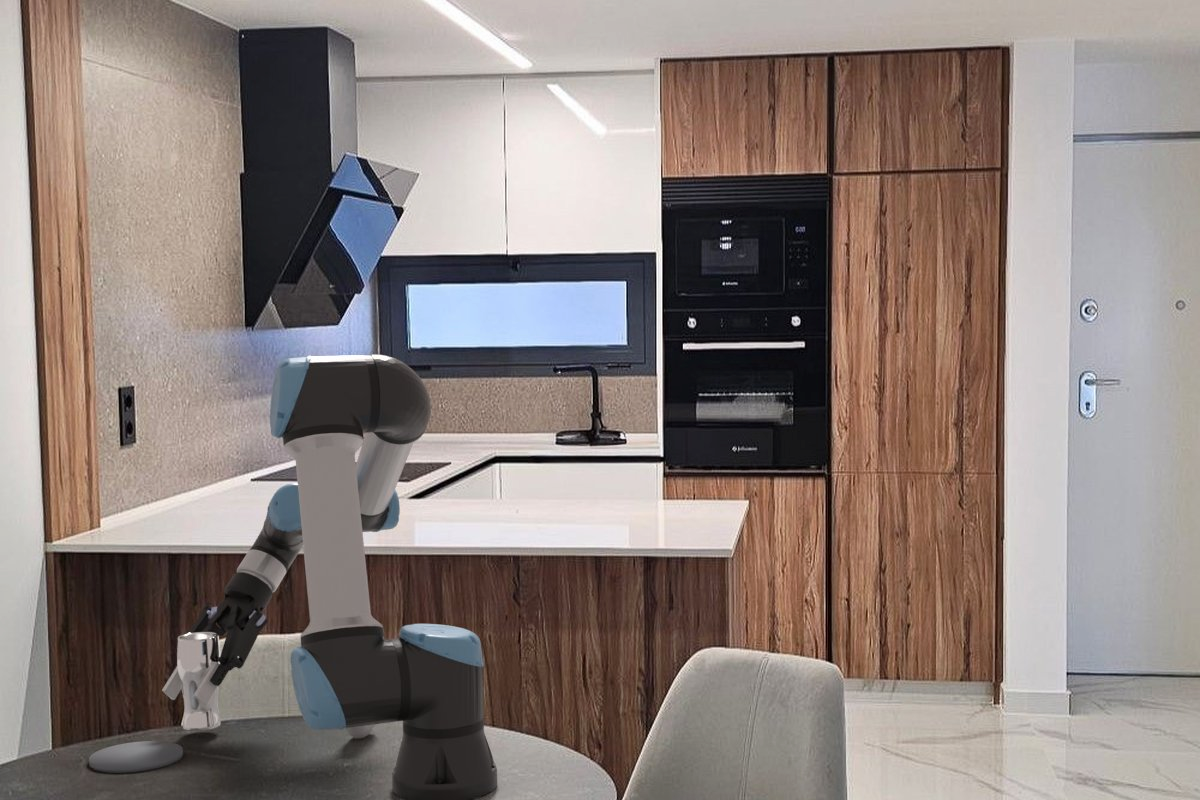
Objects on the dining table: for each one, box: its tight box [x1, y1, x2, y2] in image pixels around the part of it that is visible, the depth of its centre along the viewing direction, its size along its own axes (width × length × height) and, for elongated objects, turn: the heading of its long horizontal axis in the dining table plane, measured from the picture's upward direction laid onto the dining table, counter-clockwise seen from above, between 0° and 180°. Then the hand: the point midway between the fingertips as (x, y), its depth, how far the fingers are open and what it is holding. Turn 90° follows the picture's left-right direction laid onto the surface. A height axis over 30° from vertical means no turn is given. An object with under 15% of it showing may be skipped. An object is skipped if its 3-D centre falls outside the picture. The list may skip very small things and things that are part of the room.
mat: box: [88, 740, 184, 774], centre depth 228 cm, size 14×14×1 cm
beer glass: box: [176, 632, 222, 732], centre depth 241 cm, size 7×7×15 cm
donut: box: [345, 724, 376, 739], centre depth 237 cm, size 10×4×10 cm, turn 168°
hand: (183, 697), depth 238 cm, fingers closed on beer glass, 7 cm apart
